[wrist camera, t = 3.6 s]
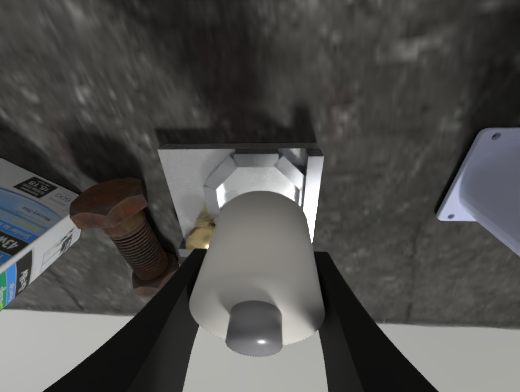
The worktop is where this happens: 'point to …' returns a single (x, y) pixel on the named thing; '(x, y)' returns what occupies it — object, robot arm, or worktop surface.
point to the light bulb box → (30, 227)
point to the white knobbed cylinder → (259, 276)
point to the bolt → (126, 230)
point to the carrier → (236, 180)
